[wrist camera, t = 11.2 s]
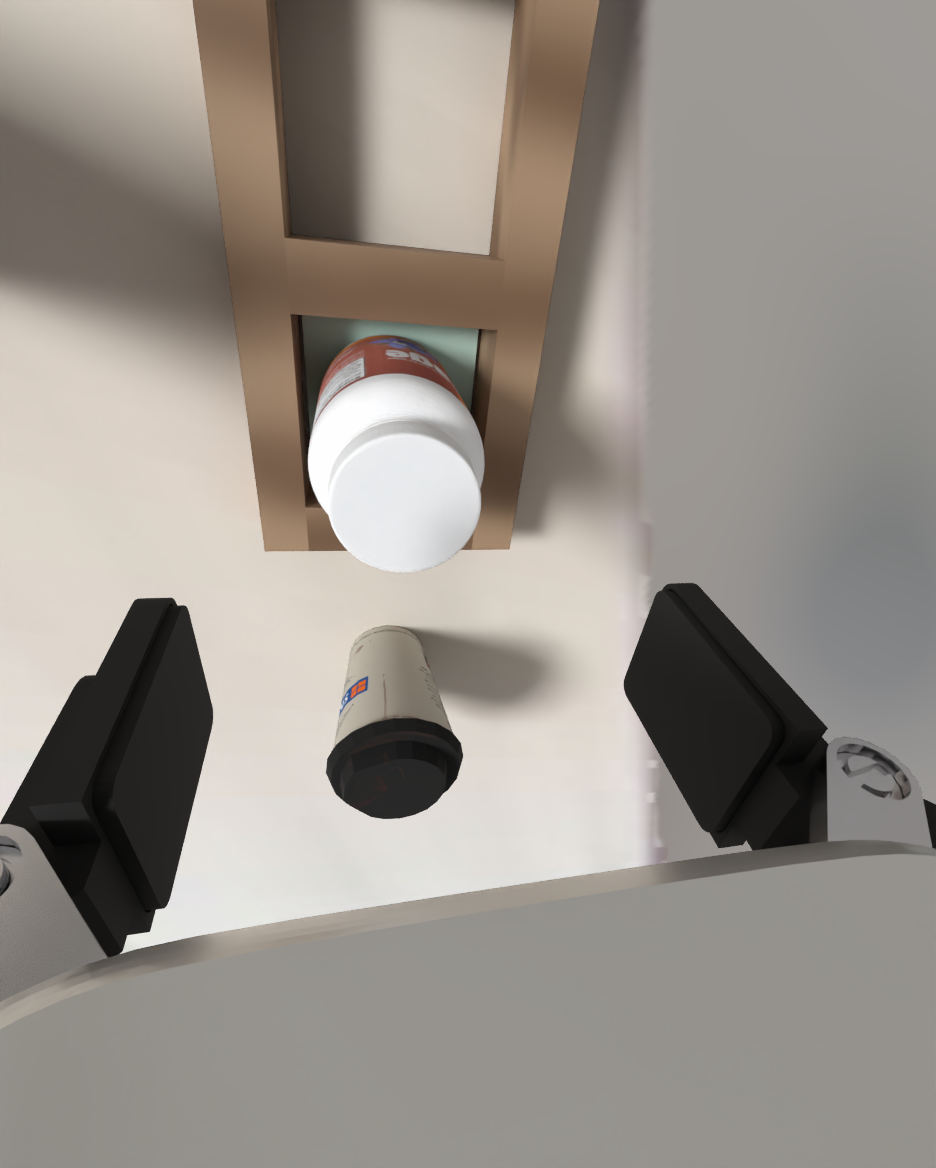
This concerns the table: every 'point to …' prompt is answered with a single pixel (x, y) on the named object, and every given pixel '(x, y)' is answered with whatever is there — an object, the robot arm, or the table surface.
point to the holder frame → (389, 262)
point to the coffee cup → (392, 729)
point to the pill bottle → (395, 456)
